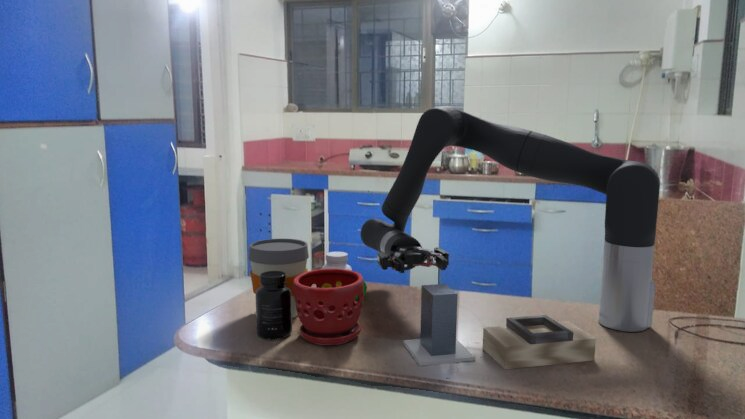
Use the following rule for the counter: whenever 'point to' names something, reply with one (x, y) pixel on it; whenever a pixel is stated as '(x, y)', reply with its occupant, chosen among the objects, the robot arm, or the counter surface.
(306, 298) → the plant pot
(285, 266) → the reusable coffee cup
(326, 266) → the supplement bottle
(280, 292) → the supplement bottle
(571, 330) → the tan piece
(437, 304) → the brushed metal block
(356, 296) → the polyhedron
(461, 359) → the rubber mat
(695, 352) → the counter surface
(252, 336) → the counter surface
